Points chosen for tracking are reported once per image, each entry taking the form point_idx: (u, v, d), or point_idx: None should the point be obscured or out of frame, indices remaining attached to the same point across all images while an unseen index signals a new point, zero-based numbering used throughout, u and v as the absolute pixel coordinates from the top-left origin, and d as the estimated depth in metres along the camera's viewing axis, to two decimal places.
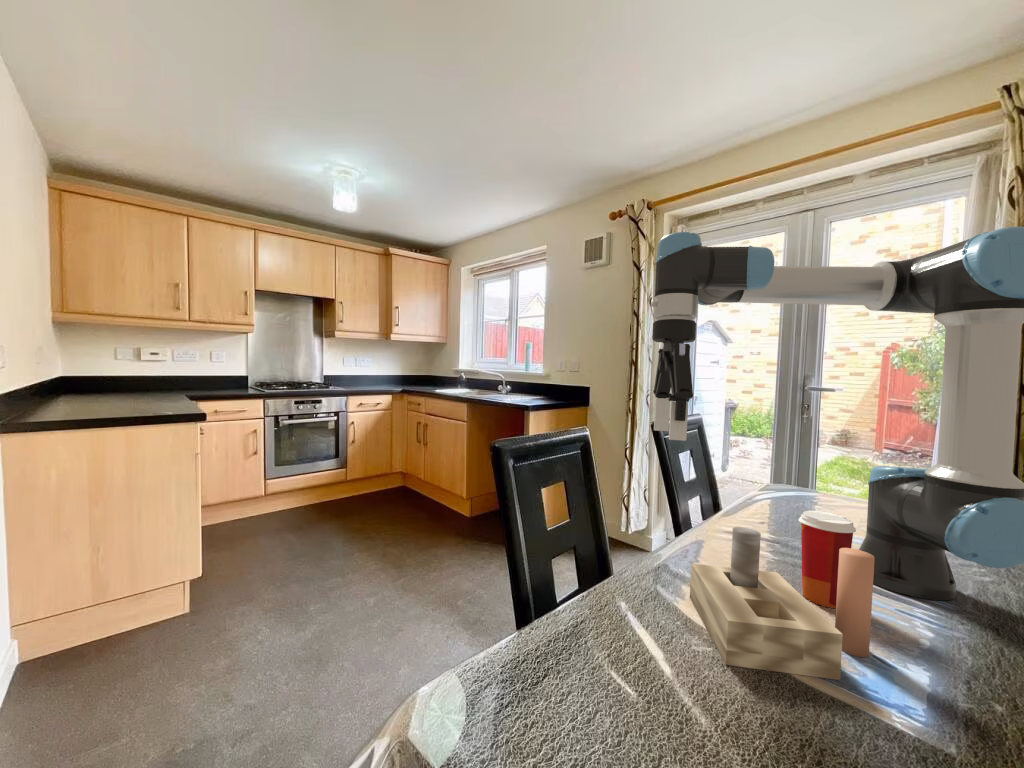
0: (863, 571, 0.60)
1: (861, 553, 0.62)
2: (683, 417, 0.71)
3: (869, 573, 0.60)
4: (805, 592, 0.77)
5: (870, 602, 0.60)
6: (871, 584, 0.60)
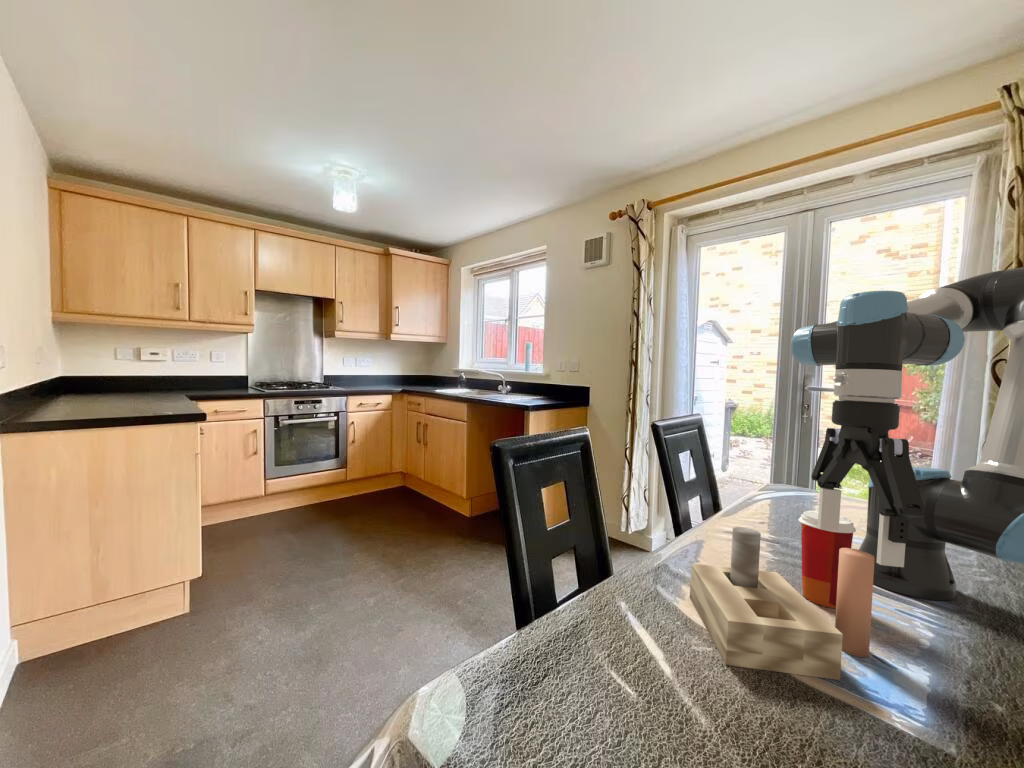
0: (863, 571, 0.60)
1: (861, 553, 0.62)
2: (904, 539, 0.54)
3: (869, 573, 0.60)
4: (805, 592, 0.77)
5: (870, 602, 0.60)
6: (871, 584, 0.60)
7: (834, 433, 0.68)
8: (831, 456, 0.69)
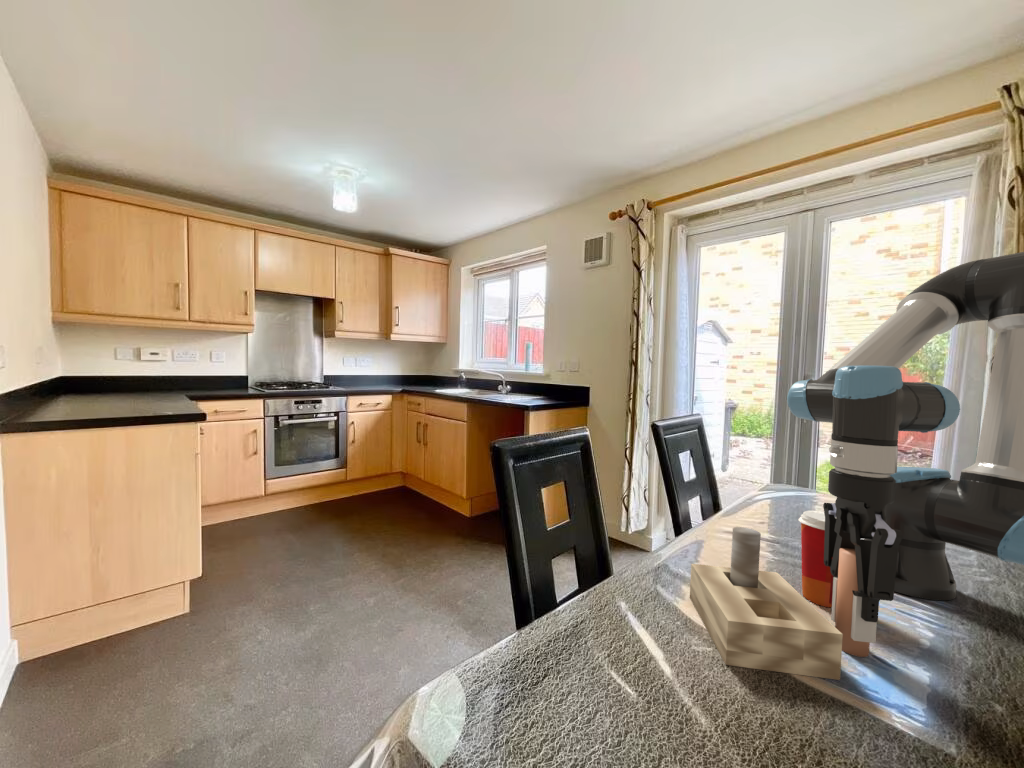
0: None
1: None
2: (875, 618, 0.58)
3: None
4: (805, 592, 0.77)
5: None
6: None
7: (831, 507, 0.67)
8: (836, 533, 0.67)
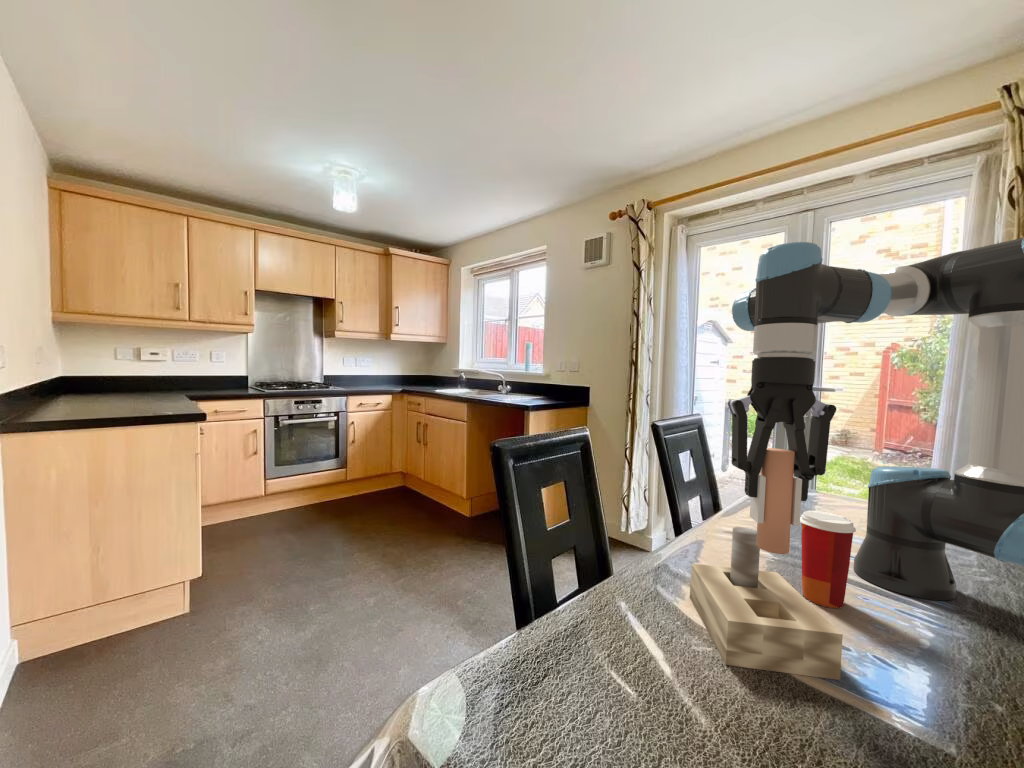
0: None
1: (780, 451, 0.60)
2: (747, 492, 0.61)
3: (764, 464, 0.60)
4: (805, 592, 0.77)
5: (766, 495, 0.60)
6: (767, 476, 0.59)
7: None
8: (813, 435, 0.60)
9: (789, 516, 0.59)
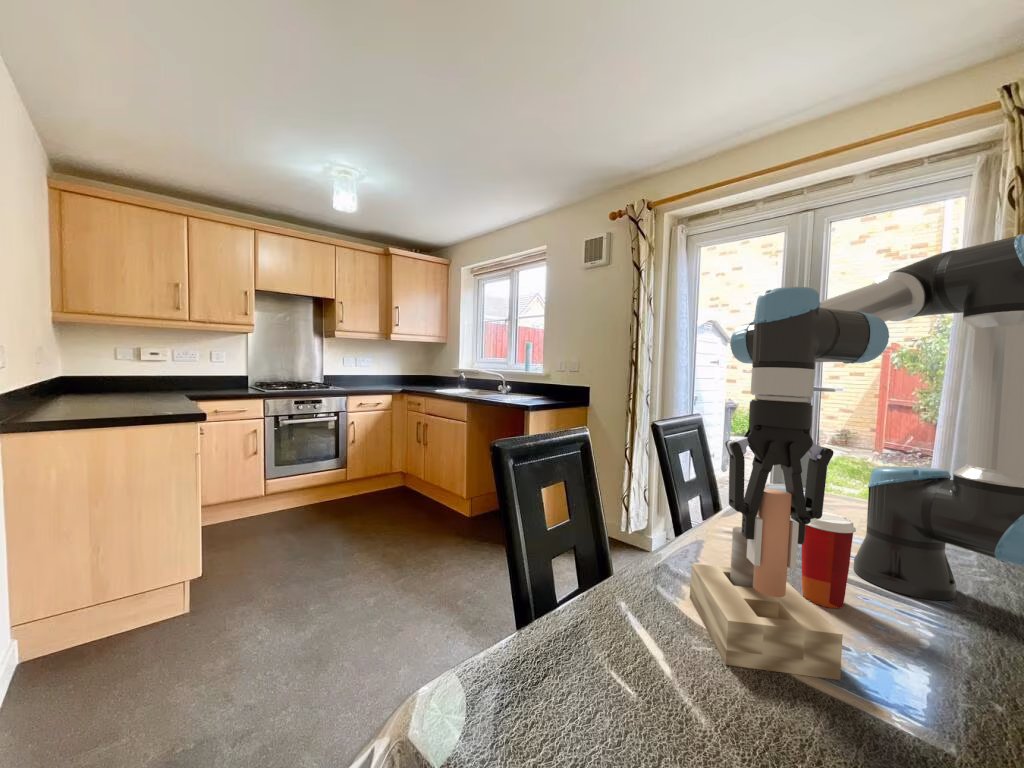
0: None
1: (777, 493, 0.60)
2: (744, 533, 0.61)
3: (761, 506, 0.60)
4: (805, 592, 0.77)
5: (763, 537, 0.60)
6: (764, 519, 0.60)
7: None
8: (810, 477, 0.60)
9: (786, 559, 0.59)
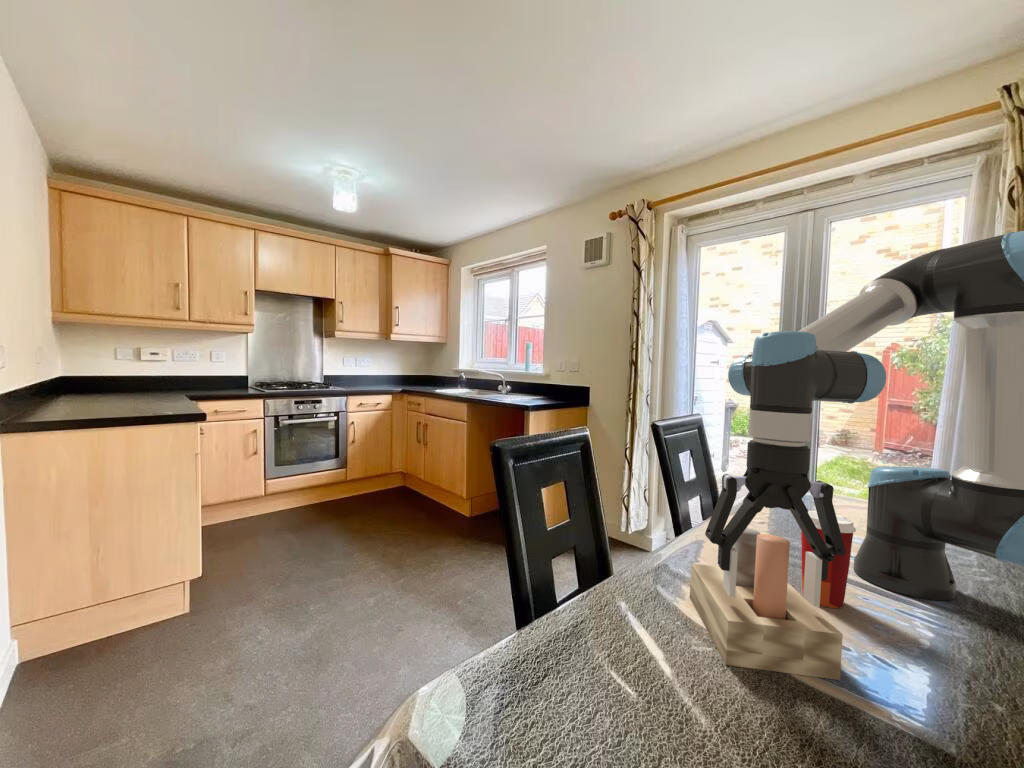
0: (756, 549, 0.61)
1: (775, 540, 0.60)
2: (720, 565, 0.61)
3: (760, 553, 0.60)
4: None
5: (761, 585, 0.60)
6: (762, 566, 0.60)
7: None
8: (821, 515, 0.60)
9: (784, 607, 0.59)
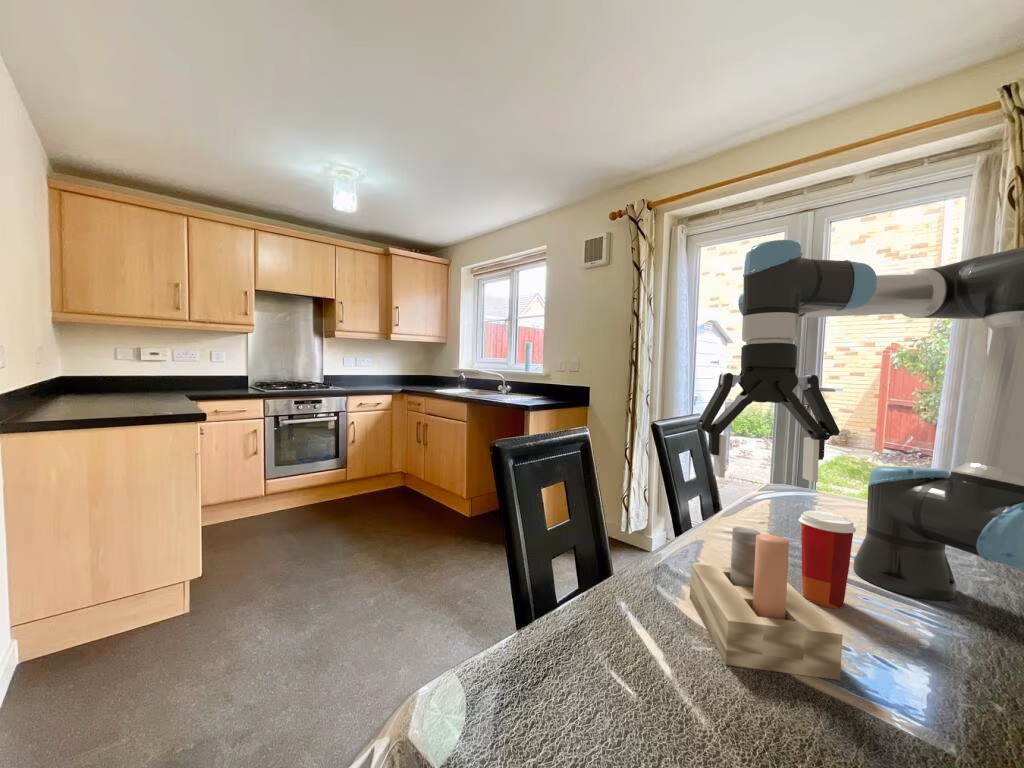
0: (756, 549, 0.61)
1: (774, 541, 0.60)
2: (710, 450, 0.68)
3: (759, 554, 0.60)
4: (805, 592, 0.77)
5: (761, 585, 0.60)
6: (762, 567, 0.60)
7: None
8: (812, 404, 0.66)
9: (784, 607, 0.59)
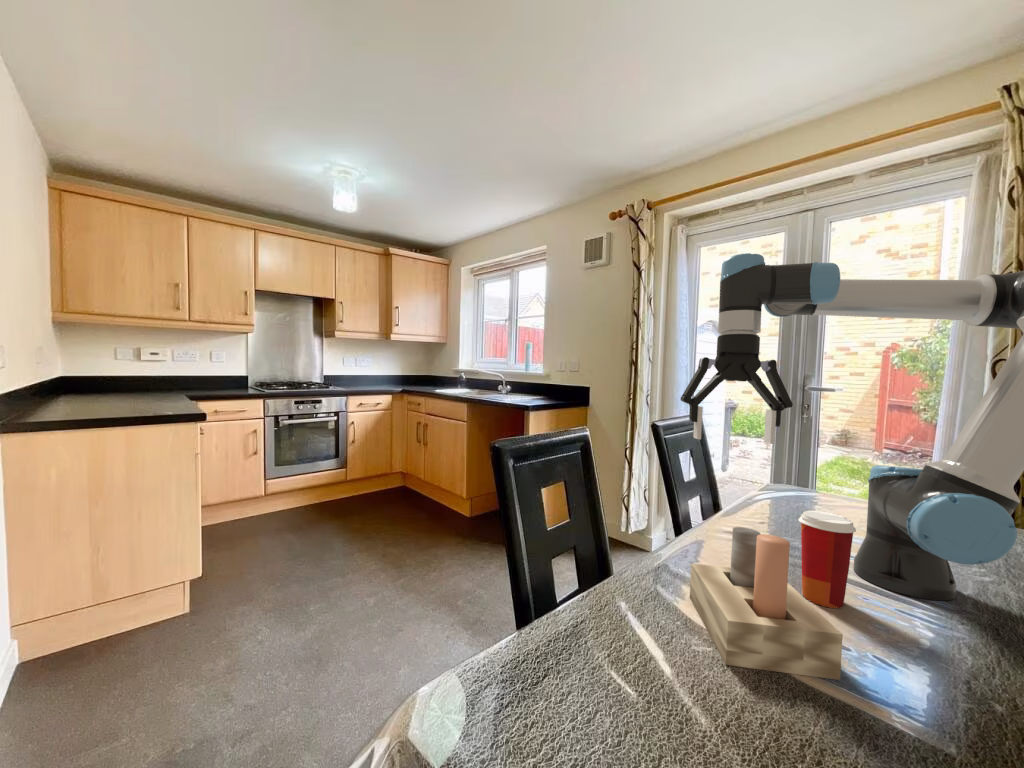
0: (756, 550, 0.61)
1: (775, 541, 0.60)
2: (690, 418, 0.86)
3: (760, 554, 0.60)
4: (805, 592, 0.77)
5: (761, 585, 0.60)
6: (762, 567, 0.60)
7: None
8: (772, 383, 0.84)
9: (784, 608, 0.59)
